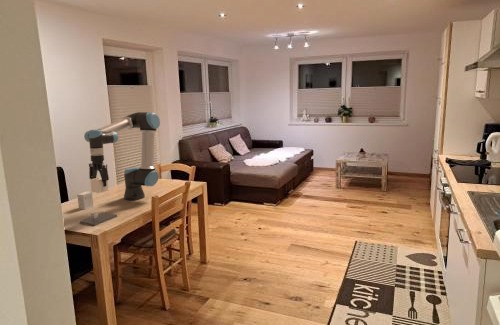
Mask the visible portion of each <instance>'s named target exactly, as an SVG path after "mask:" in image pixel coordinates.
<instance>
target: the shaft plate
mask: <svg viewBox="0 0 500 325" xmlns="http://www.w3.org/2000/svg"><path fill="white" fill-rule="evenodd" d="M117 217H118V215H117V214H115V213H108V212H104V211H103V212H102V213H101V212H100V213H98V212H90V217H87V218H84V219H83V220H80V221H79V223H80V224H82V225H88V226H92V227H95V226H97V225H100V224H103V223H105V222H108V221H110V220H113V219H115V218H117Z"/></svg>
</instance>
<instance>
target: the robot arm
mask: <svg viewBox="0 0 500 325" xmlns="http://www.w3.org/2000/svg"><path fill="white" fill-rule="evenodd" d="M160 126H161V120H160V117H159V115H158V114H157V113H155V112H153V111H152V112H150V111H148V112H147V111H142V112H140V111H139V112H138V111H137V112H134V113H131V114H128V115H126V116H123V117H122V119H120V120H117V121H115V122H112V123H110V124H108V125H105V126H102V127H99V128H97V129H89V130H87V131H85V133H84V140H85V141H86V142H88V143H89V153H90V162H91V163H88V167H89V176H88V177H89V180H90V179H94V178H97V177H98V172H99V176H100V177H101V178H102V182H101V183H102V192H101V193H104V192H107V190H106V186H107V184H106V181H107V180H108V181H109V179H110V177H109V172H108V164H105V163H104V160H105V155H104V145H106V144H107V145H108V144H115V143H116V142H118V140H119V134H118V133H121V132H123V131H125V130H132V129H139V131H140V133H141V164H140V166H135V167H128V168H125V169H124V171H123V172H124V177H123V178H124V184H125V185H124V187H125V189H124V194H123V199H124V200H126V201H136V200H142V199H145V192H144V189H143V186H144V187H154V186H155V185H157V183H158V181H159V178H160V176H159V173H158V171H157V170H156V167H155V166H154V158H155V157H154V155H155V154H154V153H155V133H156V132H157V129H159V127H160ZM106 178H107V179H106Z"/></svg>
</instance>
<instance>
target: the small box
mask: <svg viewBox="0 0 500 325" xmlns="http://www.w3.org/2000/svg"><path fill="white" fill-rule="evenodd" d="M77 203H78V209H79V210H86V209H89V208H92V207H94V199H93V192H91V191H88V190H87V191H86V190H85V191H84V192H83V191H82V192H80V193H78V194H77Z"/></svg>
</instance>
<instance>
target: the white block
mask: <svg viewBox="0 0 500 325" xmlns="http://www.w3.org/2000/svg"><path fill="white" fill-rule="evenodd" d="M106 179H107V178H106ZM89 180H90V189H91V190H90V192H92V193H97V194H98V193H99V194H101V193H103V192H102V183H101V182H102V178H101V176H97V177H96V178H94V179H90V178H89ZM106 184H107V186H106V190H107V191H109V180H107V181H106ZM107 191H106V192H107Z"/></svg>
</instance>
